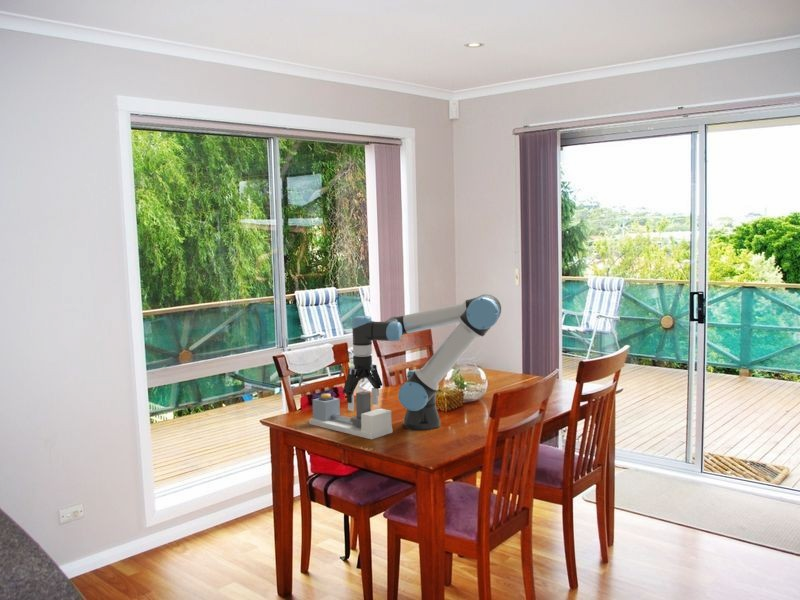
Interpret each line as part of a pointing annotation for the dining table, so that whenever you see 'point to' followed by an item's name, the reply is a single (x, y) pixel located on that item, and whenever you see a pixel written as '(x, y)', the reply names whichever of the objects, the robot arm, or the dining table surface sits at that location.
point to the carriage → (361, 407)
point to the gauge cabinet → (325, 409)
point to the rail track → (347, 428)
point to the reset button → (325, 397)
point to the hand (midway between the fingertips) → (363, 407)
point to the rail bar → (341, 419)
